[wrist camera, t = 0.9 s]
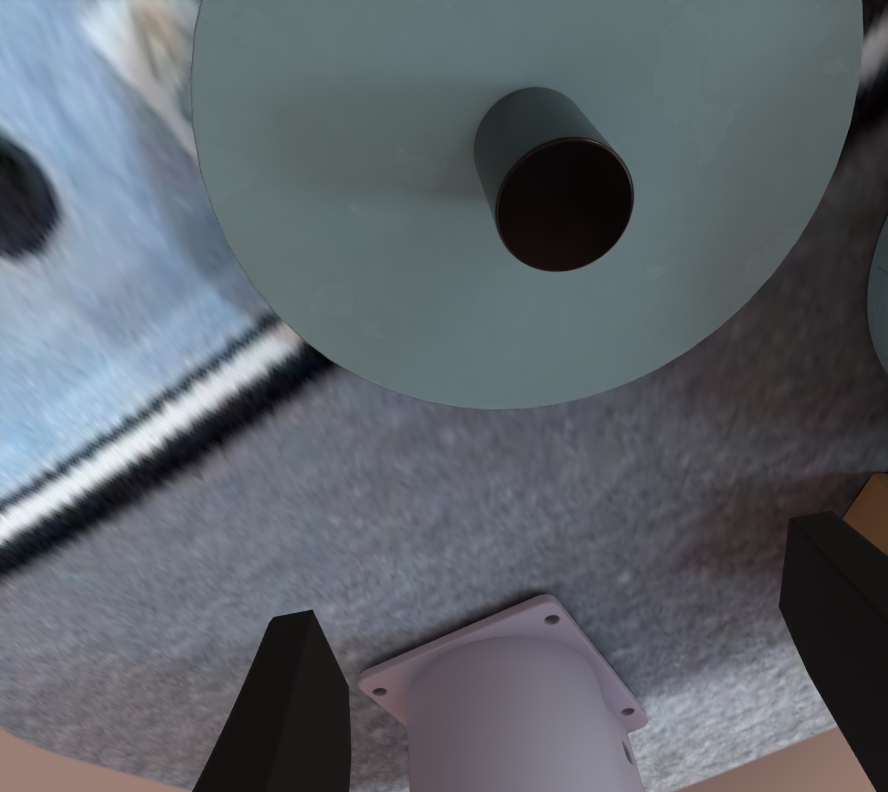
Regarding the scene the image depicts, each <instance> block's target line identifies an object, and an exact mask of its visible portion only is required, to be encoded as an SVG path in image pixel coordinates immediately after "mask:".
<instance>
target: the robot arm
mask: <svg viewBox="0 0 888 792" xmlns="http://www.w3.org/2000/svg"><path fill="white" fill-rule="evenodd" d="M779 608H780V610H781V613H782V615H783V617H784V620H785V622H786V625H787V627H788V629H789V632H790V634H791V636H792V639H793V641H794V643H795V646H796V648H797V650H798V652H799V655H800V657H801V659H802V661H803V663H804V666H805V668H806V670H807V672H808V674H809V676H810V678H811V679H812V681H813V683H814V685H815V687H816V688H817V690H818V692H819V694H820V695H821V697H822V699H823V700H824V702H825V704H826V706H827V707H828V709H829V711H830V713H831V714H832V716H833V718H834V720H835V721H836V723H837V725H838V727H839V728H840V730H841V732H842V733H843V735H844V737H845V738H846V740H847V742H848V744H849V745H850V747H851V749H852V751H853V752H854V754H855V756H856V757H857V759H858V761H859V763H860V764H861V766H862V768H863V769H864V771H865V773H866V775H867V776H868V778H869V780H870V781H871V783H872V785H873V786H874V788H875V790H876V792H888V555H886V554H885V553H884V552H883V551H881V550H880V549H879V548H878V547H876V546H875V545H874V544H873V543H871V542H870V541H869V540H868V539H867V538H865V537H864V536H863V535H862V534H860V533H859V532H858V531H857V530H855V529H854V528H853V527H852V526H851V525H849V524H848V523H847V522H846V521H844V520H843V519H842V518H841V517H839V516H838V515H837V514H835V513H834V512H832V511H827V512H821V513H816V514H811V515H806V516H800V517H795V518H790V519H789V525H788V533H787V542H786V550H785V559H784V567H783V576H782V585H781V593H780V602H779ZM358 686H359V688H360V689H361V690H362V691H363V692H364V693H366V694H367V695H368V696H369V697H370V698H372V699H373V700H374V701H375V702H376V703H378V704H379V705H380V706H381V707H382V708H384V709H385V710H386V711H387V712H388V713H390V714H391V715H392V716H393V717H394V718H396V719H397V720H398V721H399V722H401V723H402V724H403V725H404V726H405V727H407V734H408V759H409V783H410V792H645V791H644V788H643V784H642V781H641V777H640V774H639V771H638V767H637V764H636V760H635V757H634V754H633V750H632V747H631V743H630V740H629V736H628V733H629V732H632V731H635V730H637V729H640V728H642V727H644V726H645V725H646V724H647V723H648V721H649V720H648V717H647V714H646V711H645V710H644V708H643V707H642V706H641V704H640V703H639V702H638V701H637V699H636V698H635V697H634V696H633V694H632V693H631V692H630V691H629V689H628V688H627V687H626V686H625V684H624V683H623V682H622V680H621V679H620V678H619V677H618V675H617V674H616V673H615V672H614V670H613V669H612V668H611V667H610V665H609V664H608V663H607V661H606V660H605V659H604V658H603V656H602V655H601V654H600V653H599V651H598V650H597V649H596V648H595V646H594V645H593V644H592V642H591V641H590V640H589V639H588V637H587V636H586V635H585V634H584V632H583V631H582V630H581V629H580V627H579V626H578V625H577V623H576V622H575V621H574V620H573V618H572V617H571V616H570V615H569V613H568V612H567V611H566V610H565V608H564V607H563V606H562V604H561V603H560V602H559V601H558V599H557V598H556V597H554V596H552V595H549V594H542V595H539V596H536V597H534V598H531V599H529V600H527V601H524V602H522V603H520V604H517V605H515V606H513V607H510V608H508V609H506V610H503V611H501V612H499V613H496V614H494V615H492V616H489V617H487V618H485V619H483V620H480V621H478V622H476V623H473V624H471V625H469V626H466V627H464V628H462V629H459V630H457V631H455V632H452V633H450V634H448V635H445V636H443V637H441V638H438V639H436V640H434V641H431V642H429V643H427V644H424V645H422V646H420V647H418V648H415V649H413V650H411V651H408V652H406V653H404V654H401V655H399V656H397V657H394V658H392V659H390V660H387V661H385V662H383V663H380V664H378V665H376V666H373V667H371V668H369V669H366V670H364V671H363V672H361V673H360V675H359V682H358ZM350 771H351V727H350V706H349V686H348V684H347V682H346V680H345V678H344V676H343V674H342V671H341V669H340V667H339V665H338V663H337V661H336V659H335V656H334V654H333V652H332V650H331V648H330V646H329V644H328V642H327V639H326V637H325V635H324V633H323V631H322V629H321V627H320V624H319V622H318V620H317V618H316V616H315V614H314V612H313V610H308V611H303V612H298V613H292V614H287V615H282V616H277V617H273V619H272V620H271V621H270V622H269V624H268V627H267V629H266V632H265V634H264V637H263V639H262V642H261V644H260V646H259V649H258V651H257V654H256V656H255V658H254V661H253V663H252V666H251V668H250V670H249V673H248V675H247V677H246V680H245V682H244V684H243V686H242V689H241V691H240V693H239V695H238V698H237V700H236V702H235V704H234V707H233V709H232V711H231V713H230V715H229V717H228V720H227V722H226V724H225V726H224V728H223V730H222V732H221V734H220V736H219V738H218V741H217V743H216V745H215V747H214V749H213V751H212V753H211V755H210V757H209V759H208V762H207V764H206V766H205V768H204V770H203V772H202V774H201V776H200V777H199V779H198V781H197V783H196V785H195V787H194V789H193V791H192V792H349V787H350Z"/></svg>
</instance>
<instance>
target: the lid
mask: <svg viewBox="0 0 888 792" xmlns="http://www.w3.org/2000/svg"><path fill="white" fill-rule="evenodd" d="M862 43H863V13H862V0H201V3H200V7H199V12H198V16H197V21H196V25H195V30H194V42H193V54H192V65H191V77H190V82H191V105H192V126H193V132H194V138H195V144H196V149H197V155H198V161H199V166H200V171H201V175H202V178H203V181H204V184H205V187H206V191H207V194H208V197H209V200H210V203H211V207H212V210H213V213H214V215H215V217H216V219H217V221H218V224H219V226H220V228H221V230H222V232H223V235H224V237H225V239H226V241H227V243H228V245H229V248H230V250H231V251H232V253H233V255H234V256H235V258H236V259H237V261H238V263H239V264H240V266H241V267H242V269H243V271H244V272H245V274H246V276H247V277H248V279H249V280H250V282H251V283H252V285H253V286H254V287H255V288H256V290H257V291H258V292H259V293H260V295H261V296H262V297H263V298H264V300H265V301H266V302H267V303H268V304H269V306H270V307H271V308H272V309H273V311H274V312H275V313H276V314H277V315H278V316H279V317H280V318H281V319H282V320H283V321H284V322H285V323H286V324H287V325H288V326H289V327H290V328H291V329H292V330H293V331H295V332H296V333H297V334H298V335H299V336H300V337H301V338H302V339H303V340H304V341H306V342H307V343H308V344H310V345H311V346H312V347H314V348H315V349H316V350H318V351H319V352H320V353H322V354H323V355H324V356H326V357H327V358H328V359H330V360H331V361H333V362H334V363H336V364H338V365H340V366H341V367H343V368H345V369H347V370H348V371H350V372H352V373H353V374H355V375H357V376H359V377H360V378H362V379H365V380H367V381H369V382H372V383H374V384H376V385H379V386H381V387H383V388H385V389H388V390H390V391H392V392H396V393H399V394H402V395H406V396H409V397H412V398H415V399H419V400H422V401H426V402H431V403H436V404H442V405H447V406H453V407H458V408H472V409H485V410H505V409H528V408H535V407H542V406H549V405H557V404H562V403H566V402H570V401H574V400H578V399H582V398H586V397H590V396H594V395H597V394H599V393H602V392H605V391H608V390H611V389H614V388H616V387H619V386H622V385H625V384H627V383H629V382H631V381H633V380H636V379H638V378H640V377H642V376H644V375H646V374H648V373H650V372H653V371H655V370H657V369H659V368H660V367H662V366H664V365H665V364H667V363H669V362H670V361H672V360H674V359H675V358H677V357H679V356H680V355H682V354H684V353H685V352H687V351H689V350H690V349H691V348H693V347H694V346H696V345H697V344H698V343H700V342H701V341H702V340H704V339H705V338H706V337H708V336H709V335H710V334H712V333H713V332H714V331H716V330H717V329H718V328H720V327H721V326H722V325H723V324H724V323H725V322H726V321H727V320H728V319H730V318H731V317H732V316H733V315H734V314H735V313H736V312H737V311H738V310H740V309H741V308H742V307H743V306H744V305H745V304H746V303H747V302H748V301H749V300H750V299H751V298H752V297H753V296H754V294H755V293H756V292H757V291H758V290H759V289H760V288H761V287H762V286H763V285H764V283H765V282H766V281H767V280H768V279H769V278H770V277H771V276H772V275H773V274H774V272H775V271H776V269H777V268H778V267H779V265H780V264H781V263H782V261H783V260H784V259H785V257H786V256H787V255H788V253H789V252H790V250H791V249H792V248H793V246H794V245H795V244H796V242H797V241H798V239H799V238H800V236H801V234H802V233H803V231H804V229H805V227H806V226H807V224H808V222H809V221H810V219H811V217H812V216H813V214H814V212H815V211H816V209H817V207H818V205H819V203H820V201H821V199H822V197H823V195H824V192H825V190H826V188H827V186H828V184H829V181H830V179H831V177H832V175H833V173H834V170H835V168H836V166H837V163H838V160H839V157H840V154H841V151H842V148H843V145H844V142H845V139H846V136H847V133H848V130H849V126H850V123H851V118H852V113H853V109H854V104H855V99H856V94H857V89H858V84H859V79H860V67H861V55H862Z"/></svg>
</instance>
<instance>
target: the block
mask: <svg viewBox="0 0 888 792" xmlns="http://www.w3.org/2000/svg"><path fill="white" fill-rule="evenodd" d="M843 520H844V521H846V522H847V523H848V524H849V525H851V526H852V527H853V528H854V529H855V530H857V531H858V532H859V533H860V534H862V535H863V536H864V537H865V538H867V539H868V540H869V541H870V542H871V543H873V544H874V545H875V546H876V547H878V548H879V549H880V550H881V551H883V552H884V553H885V554H886V555H888V474H886V473H876V472H875V473H873V475H872V476H871V478H870V479H869V481H868V482H867V483H866V485H865V486H864V488H863V489H862V491H861V492H860V494H859V495H858V497H857V498H856V500H855V501H854V502H853V504H852V505H851V507H850V508H849V510H848V511H847V513H846V514H845V516H844V517H843Z"/></svg>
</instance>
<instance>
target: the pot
mask: <svg viewBox="0 0 888 792" xmlns="http://www.w3.org/2000/svg"><path fill="white" fill-rule="evenodd" d="M867 314H868V326H869V330H870V335H871V339H872V343H873V347H874V350H875V352H876V354H877V356H878V358H879V361H880V363H881V365H882V367H883V368H884V370H885V371H886V372H887V374H888V215H887V218H886V220H885V223H884V225H883V228H882V231H881V233H880V236H879V238H878V241H877V245H876V249H875V253H874V257H873V261H872V265H871V269H870V274H869V283H868V292H867Z"/></svg>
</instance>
